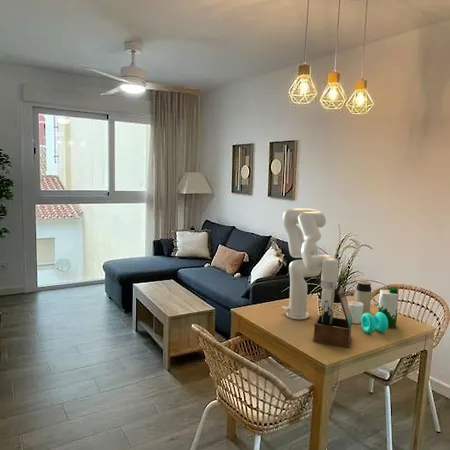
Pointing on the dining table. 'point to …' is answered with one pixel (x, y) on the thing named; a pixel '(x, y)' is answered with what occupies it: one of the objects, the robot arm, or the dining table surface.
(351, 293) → the lid
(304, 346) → the dining table surface
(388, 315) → the milk carton
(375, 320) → the turquoise yo-yo
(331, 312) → the block
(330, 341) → the chest
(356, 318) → the white cup
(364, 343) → the dining table surface
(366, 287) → the travel mug
